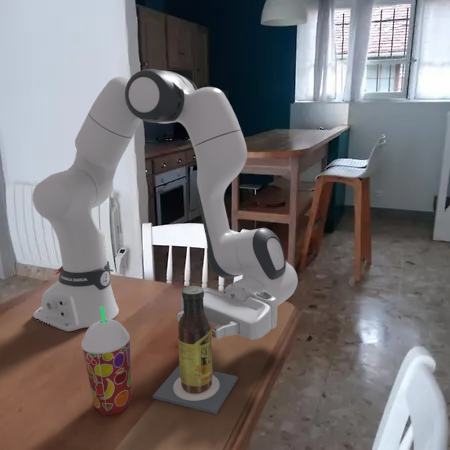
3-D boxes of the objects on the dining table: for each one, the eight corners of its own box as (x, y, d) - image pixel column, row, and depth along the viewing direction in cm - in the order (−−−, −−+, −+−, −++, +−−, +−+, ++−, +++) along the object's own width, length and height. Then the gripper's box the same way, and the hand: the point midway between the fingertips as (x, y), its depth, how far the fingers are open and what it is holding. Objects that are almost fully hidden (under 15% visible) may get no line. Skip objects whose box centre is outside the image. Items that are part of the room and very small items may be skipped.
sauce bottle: (208, 397, 83) (204, 299, 77) (176, 393, 84) (170, 297, 79) (216, 376, 89) (213, 284, 83) (186, 373, 90) (181, 282, 85)
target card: (153, 398, 84) (152, 395, 84) (180, 366, 94) (179, 363, 94) (216, 414, 79) (216, 410, 79) (237, 379, 89) (237, 376, 89)
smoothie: (95, 392, 86) (82, 298, 81) (138, 389, 87) (129, 295, 81) (85, 422, 78) (71, 319, 73) (133, 418, 79) (123, 316, 73)
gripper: (207, 276, 99) (159, 296, 89) (283, 300, 86) (236, 327, 76) (208, 301, 101) (161, 325, 91) (283, 329, 88) (237, 360, 78)
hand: (196, 326), depth 83 cm, fingers open, 8 cm apart
